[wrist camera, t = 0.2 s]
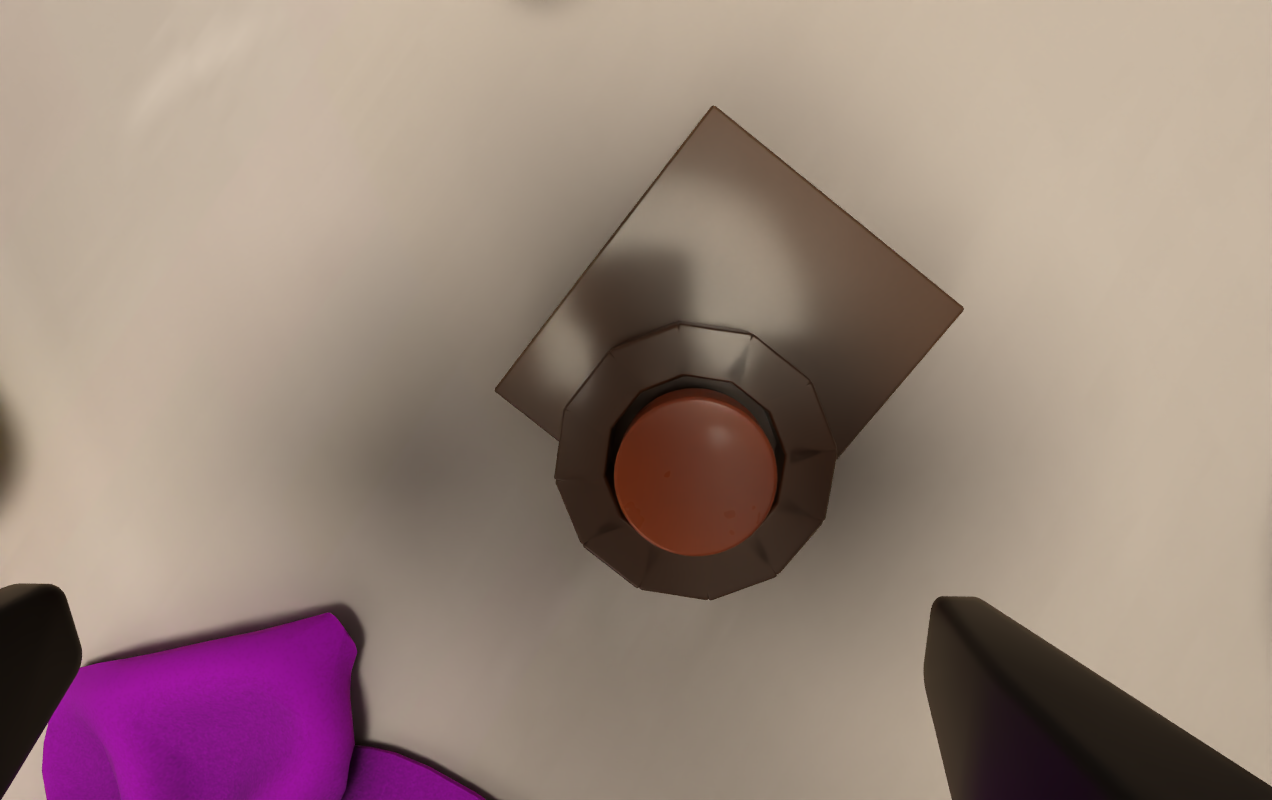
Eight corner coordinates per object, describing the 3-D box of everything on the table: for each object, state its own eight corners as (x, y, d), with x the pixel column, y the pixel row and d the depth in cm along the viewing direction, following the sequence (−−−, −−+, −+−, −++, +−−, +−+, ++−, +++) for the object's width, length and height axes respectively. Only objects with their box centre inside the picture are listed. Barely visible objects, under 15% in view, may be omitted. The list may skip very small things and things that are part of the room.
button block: (709, 591, 24) (714, 650, 20) (484, 415, 24) (444, 440, 20) (945, 312, 23) (1001, 317, 19) (710, 121, 23) (716, 85, 19)
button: (705, 563, 20) (707, 589, 19) (589, 473, 20) (580, 489, 19) (800, 450, 20) (812, 465, 18) (682, 356, 20) (682, 362, 18)
